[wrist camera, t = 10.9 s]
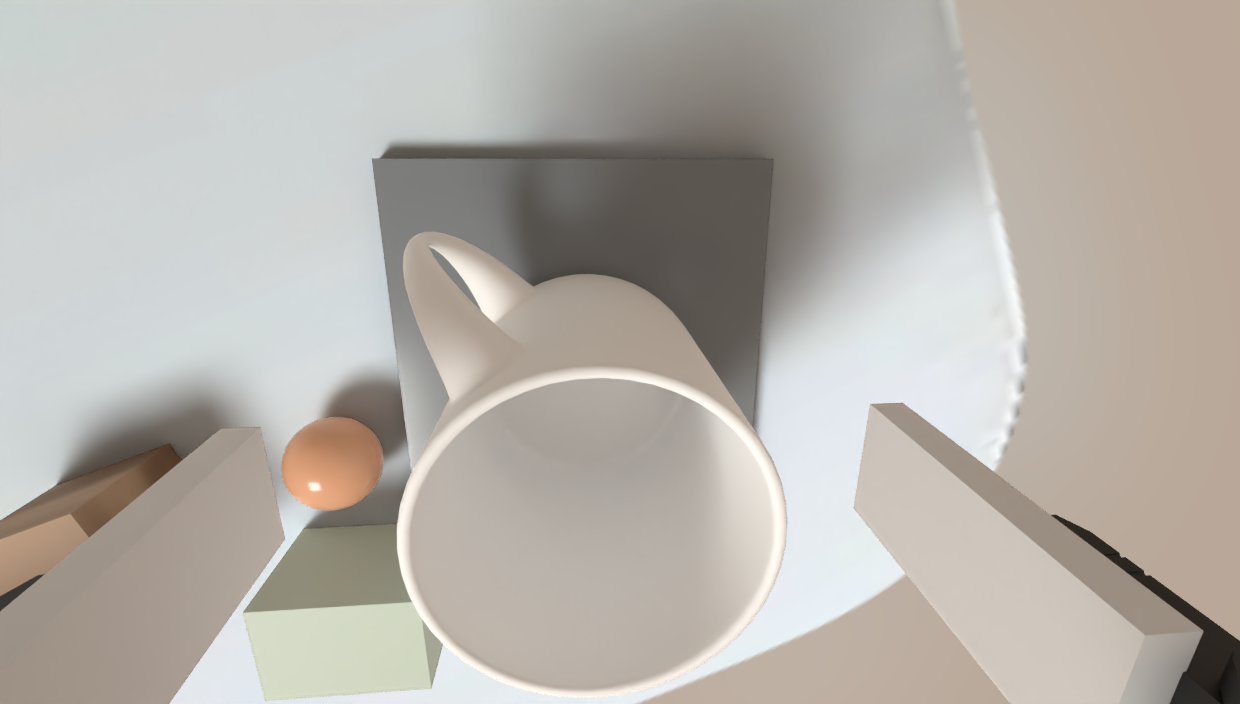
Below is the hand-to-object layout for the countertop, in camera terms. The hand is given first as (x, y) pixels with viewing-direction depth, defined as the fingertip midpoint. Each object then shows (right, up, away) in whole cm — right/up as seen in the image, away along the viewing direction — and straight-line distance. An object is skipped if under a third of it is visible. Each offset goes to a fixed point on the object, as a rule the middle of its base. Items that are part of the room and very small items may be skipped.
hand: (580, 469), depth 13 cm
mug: (-1, +3, +10) cm, 10 cm away
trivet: (-1, +3, +11) cm, 11 cm away
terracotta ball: (-10, -2, +9) cm, 14 cm away
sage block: (-10, -7, +13) cm, 18 cm away
